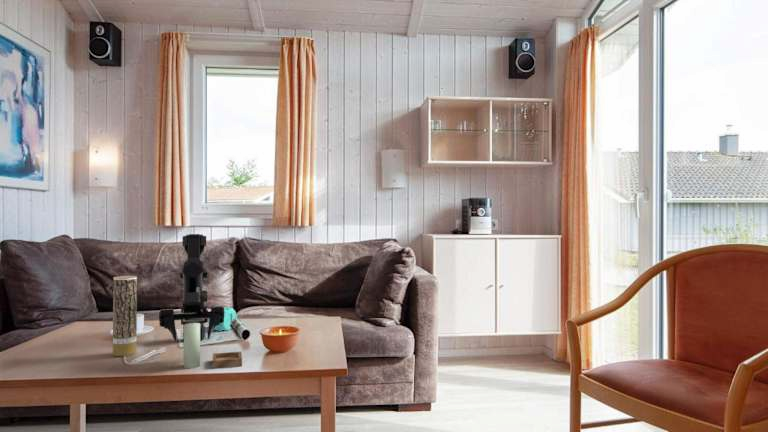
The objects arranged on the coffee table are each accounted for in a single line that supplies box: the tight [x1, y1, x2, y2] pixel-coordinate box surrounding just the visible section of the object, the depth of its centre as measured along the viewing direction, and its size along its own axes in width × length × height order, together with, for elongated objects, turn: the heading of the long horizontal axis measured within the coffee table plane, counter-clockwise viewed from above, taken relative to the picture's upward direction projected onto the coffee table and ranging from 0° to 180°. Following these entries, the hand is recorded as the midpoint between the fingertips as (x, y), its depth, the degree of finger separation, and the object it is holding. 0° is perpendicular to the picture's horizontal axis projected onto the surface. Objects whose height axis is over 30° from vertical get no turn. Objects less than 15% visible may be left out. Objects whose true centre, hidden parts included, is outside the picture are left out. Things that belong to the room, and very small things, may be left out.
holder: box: [211, 351, 243, 369], centre depth 152 cm, size 8×8×2 cm
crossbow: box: [123, 346, 167, 366], centre depth 158 cm, size 16×13×2 cm
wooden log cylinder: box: [112, 275, 138, 357], centre depth 161 cm, size 7×7×25 cm
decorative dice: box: [207, 306, 238, 332], centre depth 198 cm, size 8×8×8 cm
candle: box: [183, 322, 201, 369], centre depth 149 cm, size 5×5×13 cm
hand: (192, 339), depth 149 cm, fingers open, 9 cm apart
